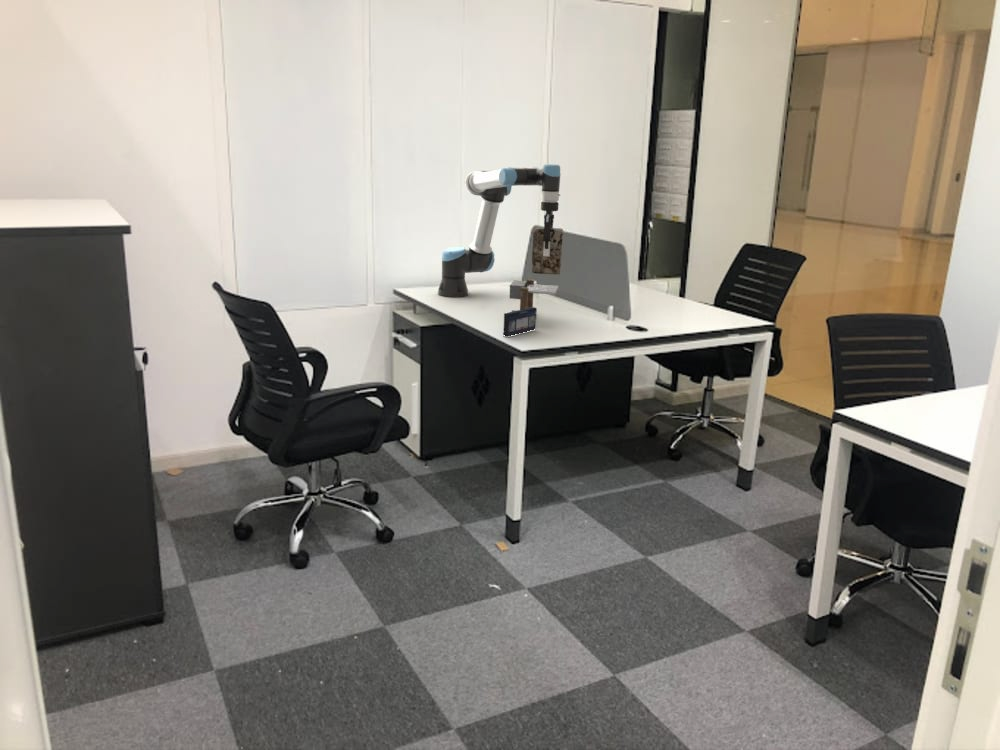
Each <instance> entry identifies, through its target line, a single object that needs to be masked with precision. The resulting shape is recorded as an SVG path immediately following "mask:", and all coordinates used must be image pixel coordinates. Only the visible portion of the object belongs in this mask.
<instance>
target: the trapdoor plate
mask: <svg viewBox="0 0 1000 750" xmlns="http://www.w3.org/2000/svg"><path fill="white" fill-rule="evenodd" d="M521 287H526V288H528V293H533V294H542V295H554V296H555V295H556V293H557V291H558V289H559V285H548V284H538V283H537V284H536V283H534V284H529V286H528V287H527V280H516V279H515V280H513V281H512V282H511V283H510V284H509V299H510V300H513V299H514V300H520V297H521Z"/></svg>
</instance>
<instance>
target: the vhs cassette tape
mask: <svg viewBox="0 0 1000 750" xmlns="http://www.w3.org/2000/svg"><path fill="white" fill-rule="evenodd" d="M537 309H538V308H537V307H534V306H533V307H531V308H526V309H521V310H520V309H519V310H517V309H516V311H513V312H512V311H509V312H504V314H503V330H502V331H503V332H502V335H505V336H511V335H515V334H519V333H523V332H527V331H530V330H534V329H535V330H536V324H537Z"/></svg>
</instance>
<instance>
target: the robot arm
mask: <svg viewBox="0 0 1000 750" xmlns="http://www.w3.org/2000/svg"><path fill="white" fill-rule="evenodd" d="M561 175H562V174H561V166H560V165H559V164H553V163H551V164H549V163H546V164H543V166H542V167H538V166H532V167H511V166H509V167H508V166H507V167H502V168H501V169H497V170H473V171H471V172H470V173H468V174H467V176H466V177H465V182H464V184H465V188H466V190H467V191H468V192H469V194H471V195H474V196H478V197H480V199H482V200H481V204H480V205H481V206H480V209H479V215H478V218H477V223H476V228H475V233H474V238H473V241H472V242H471V243H469V246H468V249H467V248H465V247H462V246H453V247H447V248H446V249H445V248H444V250H443V251H442V253H441V256H442V257H441V280H440V283H439V287H438V291H437V294H438V295H439V296H441V297H446V296H448V297H447V298H461V297H462V296H463V297H466V296H468V295H469V289H468V285H467V282H466V274H469V273H470V274H472V273H484V272H489V271H491V270H492V268H493V266H494V263H495V253H494V251H493V249H492V246H491V243H492V238H493V236H494V235H493V234H494V231H495V226H496V221H497V217H498V213H499V208H500V204H502V203H503V202H504V200H505V197H507V196H510V194H511V192H512V186H539V187H541V195H540V198H541V199H540V200H541V202H540V210H541V211H543V212H545V214H544V217H543V219H544V221H543V222H544V223H543V225H544V227H543V228H544V238H543V239H542V241H544V248H543V256H550V231H551V228H554V219H555V214H554V212H558V211H559V206H560V205H559V202H558V201H559V198H560V197H561V193H560V183H561ZM463 297H462V298H463Z"/></svg>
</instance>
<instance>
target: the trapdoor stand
mask: <svg viewBox="0 0 1000 750" xmlns="http://www.w3.org/2000/svg"><path fill="white" fill-rule="evenodd" d="M526 281H527V287H528V286H529V284H535V279H528V278H527V280H526ZM519 300H520V301H519V302H520V303H519V310H521V309H526V308H531V307H534V305H533V304H534V293H528V288H526V287H521V297H520V299H519ZM513 311H517V309H516V310H511V312H513Z"/></svg>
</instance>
